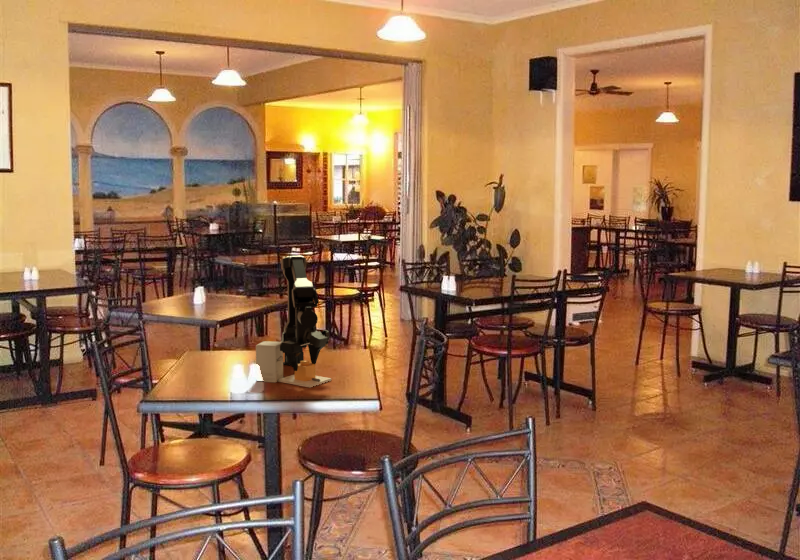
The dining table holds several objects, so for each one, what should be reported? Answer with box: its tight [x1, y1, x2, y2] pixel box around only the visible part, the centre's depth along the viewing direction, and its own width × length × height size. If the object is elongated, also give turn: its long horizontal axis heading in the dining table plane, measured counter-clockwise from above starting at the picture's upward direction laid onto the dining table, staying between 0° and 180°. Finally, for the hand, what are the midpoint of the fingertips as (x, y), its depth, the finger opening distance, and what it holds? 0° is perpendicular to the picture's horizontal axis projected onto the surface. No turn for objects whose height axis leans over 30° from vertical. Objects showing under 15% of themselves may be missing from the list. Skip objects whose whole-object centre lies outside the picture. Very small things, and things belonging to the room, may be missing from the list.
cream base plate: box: [277, 374, 332, 388], centre depth 279 cm, size 14×11×5 cm
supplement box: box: [255, 340, 284, 383], centre depth 280 cm, size 7×7×13 cm
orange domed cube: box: [293, 359, 317, 381], centre depth 278 cm, size 5×5×6 cm
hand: (304, 368), depth 278 cm, fingers open, 9 cm apart
